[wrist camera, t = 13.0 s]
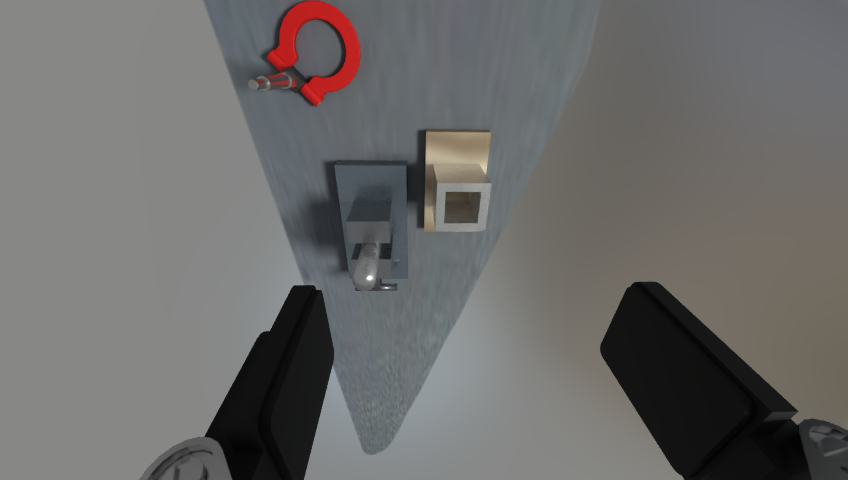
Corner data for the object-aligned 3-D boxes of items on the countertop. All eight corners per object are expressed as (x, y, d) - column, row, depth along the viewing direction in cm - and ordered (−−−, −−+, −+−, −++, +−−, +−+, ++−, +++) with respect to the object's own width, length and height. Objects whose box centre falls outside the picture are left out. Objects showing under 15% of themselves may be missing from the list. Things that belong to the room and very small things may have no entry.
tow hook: (315, -20, 31) (261, 52, 34) (270, -67, 20) (195, 45, 23) (376, 52, 35) (323, 112, 37) (366, 46, 23) (291, 133, 26)
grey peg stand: (337, 160, 40) (306, 205, 28) (406, 161, 41) (404, 205, 29) (351, 271, 49) (332, 340, 37) (407, 270, 50) (406, 339, 38)
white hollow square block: (433, 163, 40) (437, 183, 34) (479, 163, 40) (491, 183, 34) (431, 206, 43) (435, 230, 37) (474, 206, 43) (484, 230, 37)
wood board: (425, 129, 39) (426, 131, 38) (489, 130, 39) (491, 132, 38) (423, 227, 46) (424, 231, 45) (477, 227, 46) (478, 231, 45)
